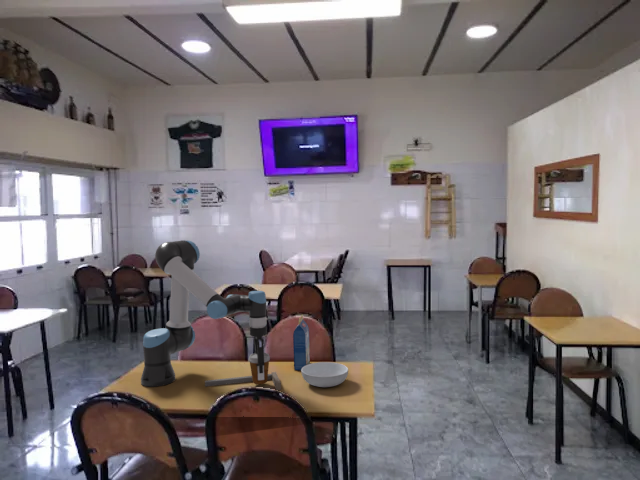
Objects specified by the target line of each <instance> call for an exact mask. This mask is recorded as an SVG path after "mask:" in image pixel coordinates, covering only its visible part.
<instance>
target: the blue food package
mask: <svg viewBox="0 0 640 480" xmlns="http://www.w3.org/2000/svg"><path fill="white" fill-rule="evenodd" d="M292 335H293V336H292V338H293V339H292V342H293V343H292V344H293V370H294V371H301V369H302V368H303V367H304V366H306V365H308V364H311V361H310V359H311V357H310V328H309V326H308V323H307V322H306V321H305V320H304V317H303V314H301V316H300V317H299V318H298V324H297V326H296V327H295V329H294V330H293V334H292Z"/></svg>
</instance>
